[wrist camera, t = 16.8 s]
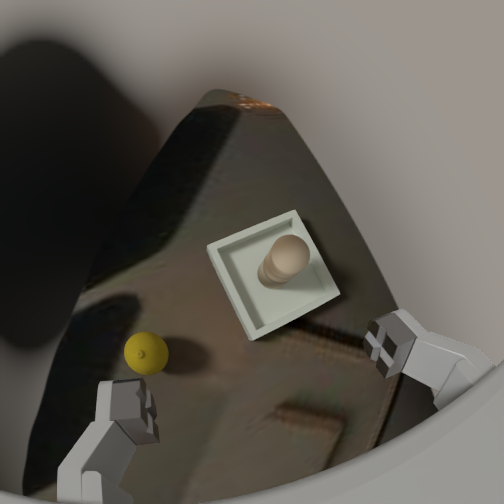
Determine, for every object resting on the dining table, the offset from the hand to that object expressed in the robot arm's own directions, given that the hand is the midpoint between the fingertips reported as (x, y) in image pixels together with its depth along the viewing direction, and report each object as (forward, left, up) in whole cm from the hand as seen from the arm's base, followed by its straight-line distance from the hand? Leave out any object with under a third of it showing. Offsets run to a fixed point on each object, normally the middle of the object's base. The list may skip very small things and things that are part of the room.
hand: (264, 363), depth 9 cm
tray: (+6, -11, -31) cm, 34 cm away
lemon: (+3, +9, -32) cm, 33 cm away
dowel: (+6, -11, -30) cm, 33 cm away
